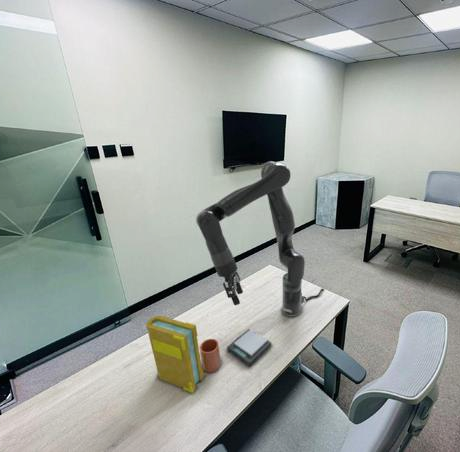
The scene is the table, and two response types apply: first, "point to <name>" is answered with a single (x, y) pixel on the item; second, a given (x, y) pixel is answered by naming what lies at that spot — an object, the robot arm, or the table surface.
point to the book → (175, 351)
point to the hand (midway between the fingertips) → (239, 298)
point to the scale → (249, 347)
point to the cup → (210, 355)
